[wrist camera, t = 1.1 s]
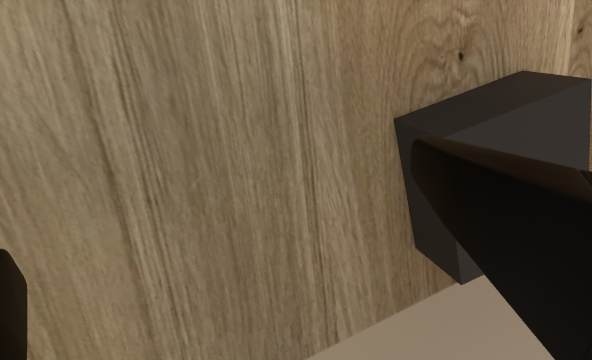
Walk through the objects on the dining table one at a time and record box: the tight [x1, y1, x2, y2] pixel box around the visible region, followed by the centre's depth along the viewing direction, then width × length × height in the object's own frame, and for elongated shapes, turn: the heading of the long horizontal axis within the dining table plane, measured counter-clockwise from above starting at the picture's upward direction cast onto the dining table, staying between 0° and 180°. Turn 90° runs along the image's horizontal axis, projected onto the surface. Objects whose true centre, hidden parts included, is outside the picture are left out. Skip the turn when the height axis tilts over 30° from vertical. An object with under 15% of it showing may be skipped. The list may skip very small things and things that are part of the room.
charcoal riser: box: [394, 71, 592, 285], centre depth 28 cm, size 10×10×5 cm
